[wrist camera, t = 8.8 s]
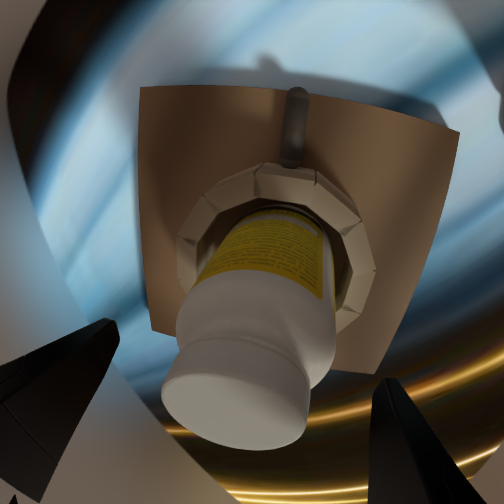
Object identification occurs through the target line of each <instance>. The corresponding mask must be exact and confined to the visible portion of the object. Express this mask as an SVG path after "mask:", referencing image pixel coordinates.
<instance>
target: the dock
mask: <svg viewBox="0 0 504 504" xmlns="http://www.w3.org/2000/svg"><path fill="white" fill-rule="evenodd" d="M459 135H460V132H457V131H455V130H452V129H449V128H446V127H443V126H441V125H438V124H435V123H432V122H429V121H426V120H423V119H419V118H416V117H413V116H409V115H406V114H402V113H399V112H395V111H392V110H388V109H384V108H380V107H376V106H372V105H367V104H363V103H358V102H354V101H349V100H344V99H339V98H333V97H328V96H322V95H315V94H309V93H308V92H307V91H306V90H305V89H304V88H301V87H293V88H291V89H290V90H289V91H286V90H277V89H267V88H255V87H241V86H217V85H176V86H153V87H140V101H139V125H138V186H139V211H140V228H141V242H142V254H143V264H144V274H145V283H146V291H147V299H148V307H149V314H150V321H151V327H152V330H153V331H156V332H159V333H163V334H166V335H170V336H173V337H176V320H177V316H178V312H179V310H180V307H181V305H182V303H183V301H184V300H185V298H186V296H187V294H188V293H189V291H190V290H191V288H192V287H193V285H194V284H195V282H196V281H197V279H198V278H199V276H200V275H201V273H202V272H203V270H204V269H205V267H206V265H207V264H208V263H209V261H210V260H211V258H212V257H213V255H214V254H215V252H216V251H217V249H218V248H219V246H220V245H221V243H222V242H223V240H224V239H225V238H226V236H227V235H228V233H229V232H230V230H231V229H232V227H233V226H234V225H235V224H236V223H237V222H238V220H239V219H240V218H242V217H243V216H244V215H245V214H247V213H248V212H250V211H251V210H253V209H255V208H258V207H261V206H264V205H270V204H286V205H291V206H294V207H297V208H300V209H302V210H304V211H306V212H307V213H309V214H311V215H312V216H313V217H314V218H316V219H317V220H318V221H319V222H320V224H321V225H322V226H323V227H324V229H325V230H326V232H327V234H328V236H329V239H330V242H331V246H332V252H333V264H334V284H335V314H336V349H335V355H334V359H333V362H332V364H331V367H330V369H335V370H342V371H350V372H359V373H368V374H374V373H375V371H376V370H377V368H378V366H379V364H380V362H381V360H382V359H383V357H384V355H385V353H386V351H387V349H388V347H389V345H390V343H391V341H392V339H393V337H394V335H395V333H396V331H397V329H398V327H399V325H400V322H401V320H402V318H403V316H404V314H405V311H406V309H407V307H408V305H409V302H410V300H411V298H412V295H413V293H414V291H415V288H416V286H417V283H418V281H419V278H420V276H421V273H422V270H423V268H424V265H425V262H426V260H427V257H428V254H429V251H430V248H431V245H432V242H433V239H434V236H435V233H436V230H437V227H438V224H439V220H440V217H441V214H442V210H443V207H444V203H445V199H446V196H447V192H448V188H449V184H450V180H451V175H452V171H453V166H454V162H455V157H456V152H457V146H458V141H459Z"/></svg>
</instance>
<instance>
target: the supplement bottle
mask: <svg viewBox="0 0 504 504" xmlns="http://www.w3.org/2000/svg"><path fill="white" fill-rule="evenodd" d="M176 338H177V343H178V346H179V349H180V352H179V353H178V355H177V356H176V358H175V360H174V362H173V365H172V367H171V369H170V371H169V373H168V375H167V377H166V378H165V380H164V382H163V385H162V389H161V397H162V401H163V404H164V406H165V407H166V409H167V410H168V412H169V413H170V414H171V415H172V416H173V417H174V419H175V420H177V421H178V422H179V423H180V424H181V425H182V426H184V427H185V428H187V429H188V430H190V431H191V432H193V433H195V434H197V435H198V436H200V437H203V438H205V439H207V440H210V441H212V442H215V443H217V444H221V445H224V446H228V447H233V448H238V449H247V450H268V449H275V448H279V447H283V446H286V445H288V444H290V443H292V442H294V441H295V440H297V439H298V438H299V437H300V436H301V435H302V434H303V432H304V430H305V427H306V424H307V417H308V409H309V402H310V391H311V388H313V387H314V386H315V385H316V384H318V383H319V382H320V381H321V380H322V378H323V377H324V376H325V375H326V373H327V372H328V370H329V369H330V367H331V364H332V362H333V359H334V355H335V349H336V314H335V284H334V264H333V252H332V246H331V242H330V239H329V236H328V234H327V232H326V230H325V229H324V227H323V226H322V225H321V224H320V222H319V221H318V220H317V219H316V218H314V217H313V216H312V215H311V214H309V213H307V212H306V211H304V210H302V209H300V208H297V207H294V206H291V205H286V204H270V205H264V206H261V207H258V208H255V209H253V210H251V211H250V212H248V213H247V214H245V215H244V216H243V217H242V218H240V219H239V220H238V222H237V223H236V224H235V225H234V226H233V227H232V229H231V230H230V232H229V233H228V235H227V236H226V238H225V239H224V240H223V242H222V243H221V245H220V246H219V248H218V249H217V251H216V252H215V254H214V255H213V257H212V258H211V260H210V261H209V263H208V264H207V265H206V267H205V269H204V270H203V272H202V273H201V275H200V276H199V278H198V279H197V281H196V282H195V284H194V285H193V287H192V288H191V290H190V291H189V293H188V294H187V296H186V298H185V300H184V301H183V303H182V305H181V307H180V310H179V312H178V316H177V320H176Z"/></svg>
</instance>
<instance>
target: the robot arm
mask: <svg viewBox="0 0 504 504" xmlns="http://www.w3.org/2000/svg"><path fill="white" fill-rule="evenodd" d="M119 342H120V336H119V332H118V328H117V324H116V322H115V321H114V320H112V319H109V318H103V319H100V320H98V321H96V322H94V323H92V324H90V325H88V326H86V327H83V328H81V329H79V330H77V331H75V332H73V333H70V334H68V335H66V336H64V337H62V338H60V339H58V340H56V341H54V342H51V343H49V344H47V345H45V346H43V347H41V348H38V349H36V350H34V351H32V352H30V353H28V354H26V355H25V356H21V357H19V358H17V359H15V360H13V361H10V362H8V363H6V364H3V365H1V366H0V504H18V503H17V499H16V495H15V492H16V490H18V491H20V492H21V493H23V494H24V495H26V496H28V497H29V498H31V499H33V500H34V501H36V502H38V503H40V501H41V499H42V497H43V494H44V492H45V490H46V488H47V486H48V484H49V482H50V480H51V477H52V475H53V473H54V471H55V469H56V467H57V465H58V462H59V461H60V458H61V456H62V455H63V453H64V451H65V448H66V446H67V445H68V443H69V441H70V439H71V437H72V435H73V433H74V431H75V429H76V427H77V425H78V424H79V421H80V420H81V418H82V416H83V414H84V412H85V411H86V409H87V407H88V405H89V403H90V401H91V400H92V398H93V396H94V394H95V392H96V391H97V389H98V387H99V385H100V384H101V382H102V380H103V378H104V376H105V374H106V372H107V370H108V367H109V365H110V363H111V360H112V358H113V356H114V354H115V352H116V349H117V347H118V345H119ZM367 504H487V503H486V502H485V501H484V500H483V498H482V497H481V496H480V495H479V494H478V492H477V491H476V490H475V489H474V487H473V486H472V485H471V484H470V483H469V481H468V480H467V479H466V477H465V476H464V475H463V474H462V472H461V471H460V469H459V468H458V467H457V465H456V464H455V462H454V461H453V459H452V458H451V456H450V455H449V454H448V452H447V450H446V449H445V447H444V446H443V444H442V443H441V441H440V440H439V438H438V437H437V436H436V434H435V433H434V431H433V430H432V428H431V427H430V425H429V424H428V422H427V421H426V420H425V418H424V417H423V415H422V414H421V412H420V411H419V410H418V408H417V407H416V405H415V404H414V402H413V401H412V400H411V398H410V397H409V395H408V394H407V393H406V391H405V390H404V388H403V387H402V386H401V384H400V383H399V381H398V380H397V379H396V378H395V377H386V376H385V377H383V378H382V379H381V381H380V383H379V384H378V386H377V387H376V389H375V391H374V393H373V397H372V409H371V421H370V431H369V482H368V503H367Z"/></svg>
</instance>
